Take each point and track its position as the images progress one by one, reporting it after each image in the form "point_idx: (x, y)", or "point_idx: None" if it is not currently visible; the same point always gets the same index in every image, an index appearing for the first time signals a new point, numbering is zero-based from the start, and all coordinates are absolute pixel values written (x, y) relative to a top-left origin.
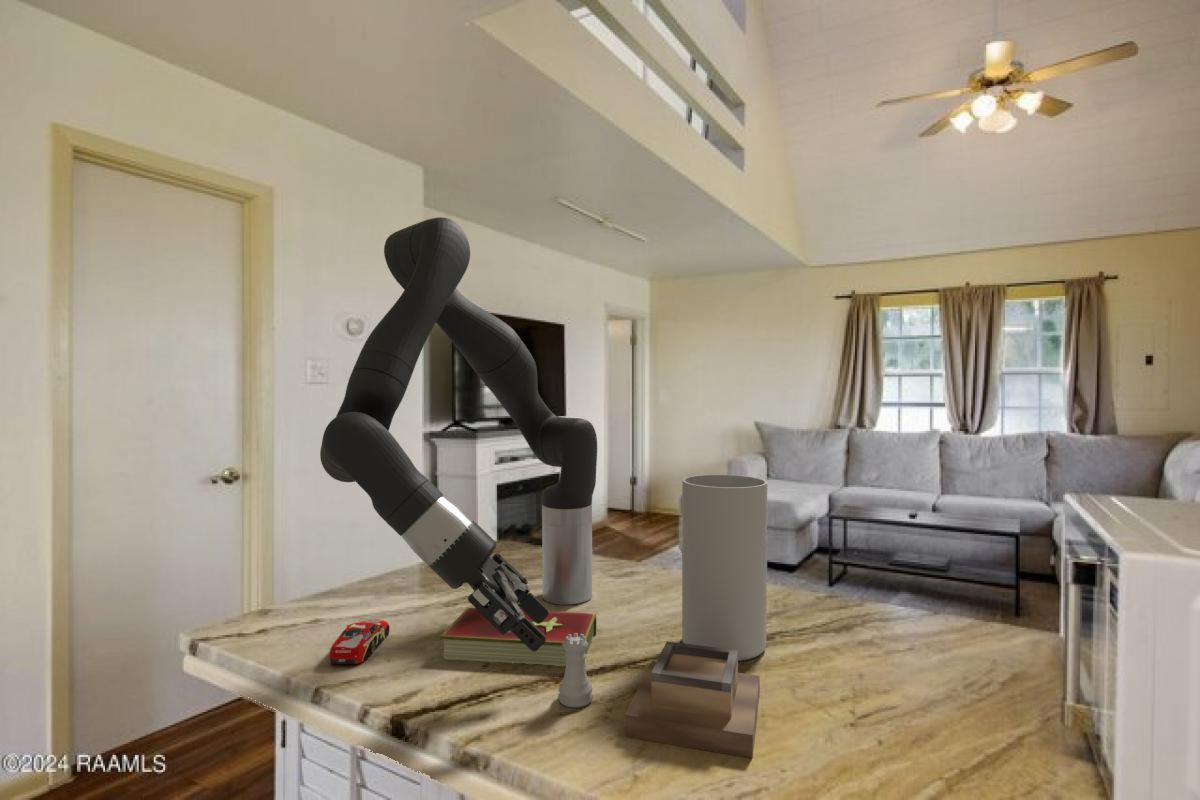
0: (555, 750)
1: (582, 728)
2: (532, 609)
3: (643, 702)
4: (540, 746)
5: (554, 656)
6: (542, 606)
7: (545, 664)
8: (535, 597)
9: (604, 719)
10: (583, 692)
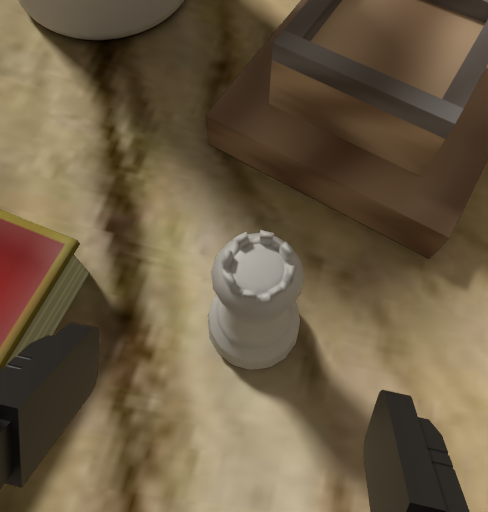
0: (470, 420)
1: (385, 338)
2: (60, 403)
3: (399, 186)
4: (451, 455)
5: (36, 335)
6: (75, 348)
7: None
8: (20, 374)
9: (354, 281)
10: (294, 303)
